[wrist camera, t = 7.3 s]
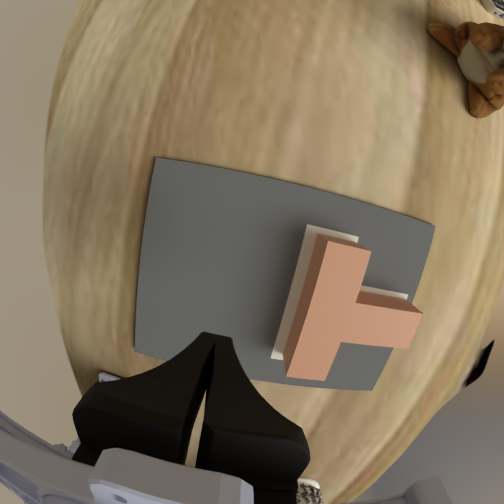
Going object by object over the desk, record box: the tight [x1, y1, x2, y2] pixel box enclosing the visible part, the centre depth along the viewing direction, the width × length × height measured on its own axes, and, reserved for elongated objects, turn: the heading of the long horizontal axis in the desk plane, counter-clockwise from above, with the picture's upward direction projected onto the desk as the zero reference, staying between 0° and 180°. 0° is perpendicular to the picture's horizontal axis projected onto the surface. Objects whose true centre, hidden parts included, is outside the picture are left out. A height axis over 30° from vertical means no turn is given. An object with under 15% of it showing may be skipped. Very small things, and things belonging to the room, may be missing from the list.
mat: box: [135, 157, 435, 391], centre depth 21 cm, size 16×22×1 cm
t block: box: [283, 233, 423, 381], centre depth 19 cm, size 10×9×3 cm
